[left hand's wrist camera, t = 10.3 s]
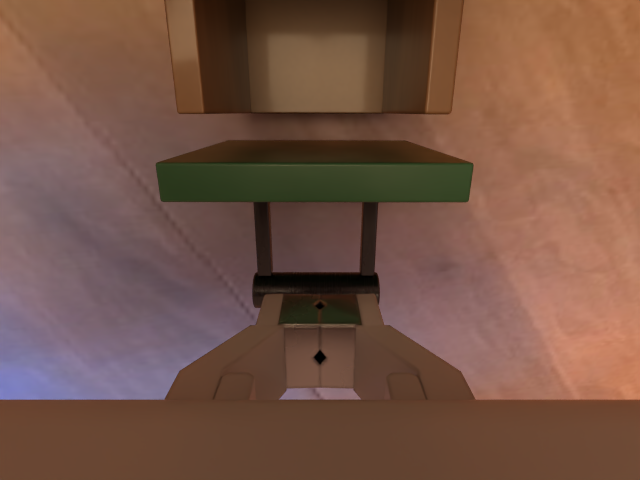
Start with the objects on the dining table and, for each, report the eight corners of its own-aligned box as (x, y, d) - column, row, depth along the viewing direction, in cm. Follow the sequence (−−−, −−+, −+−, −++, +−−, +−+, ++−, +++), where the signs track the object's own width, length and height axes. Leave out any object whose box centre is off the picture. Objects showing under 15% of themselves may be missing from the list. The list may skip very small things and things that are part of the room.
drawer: (397, 263, 22) (447, 362, 13) (236, 263, 22) (182, 362, 13) (427, -142, 16) (558, -448, 7) (204, -143, 16) (66, -451, 7)
